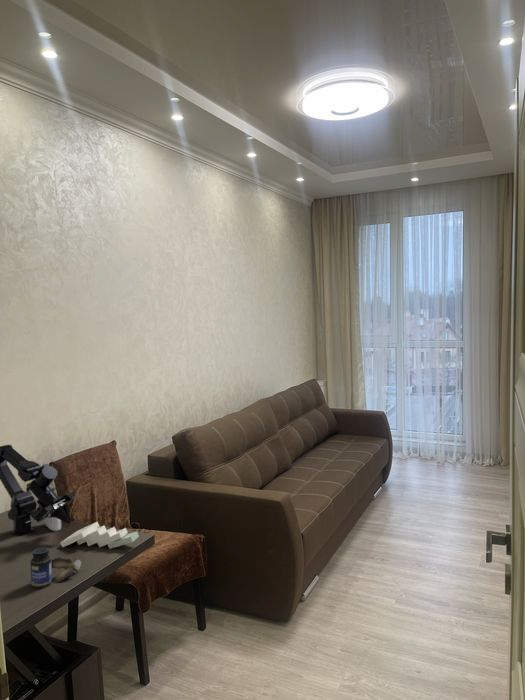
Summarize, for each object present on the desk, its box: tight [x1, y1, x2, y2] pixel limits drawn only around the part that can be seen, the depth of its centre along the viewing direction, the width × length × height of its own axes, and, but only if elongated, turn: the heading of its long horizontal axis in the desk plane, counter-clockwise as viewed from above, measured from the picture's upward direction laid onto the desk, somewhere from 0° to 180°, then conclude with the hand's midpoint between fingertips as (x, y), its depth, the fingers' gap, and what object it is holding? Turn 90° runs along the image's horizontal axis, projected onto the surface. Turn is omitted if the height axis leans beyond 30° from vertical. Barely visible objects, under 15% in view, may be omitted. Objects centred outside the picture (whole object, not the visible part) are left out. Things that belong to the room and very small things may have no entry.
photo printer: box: [44, 514, 62, 532], centre depth 215 cm, size 10×4×12 cm, turn 39°
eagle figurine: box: [51, 555, 82, 584], centre depth 174 cm, size 8×7×9 cm
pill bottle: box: [30, 547, 53, 589], centre depth 169 cm, size 6×6×11 cm
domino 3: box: [85, 526, 118, 547], centre depth 199 cm, size 2×5×10 cm
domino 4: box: [96, 527, 129, 548], centre depth 197 cm, size 2×5×10 cm
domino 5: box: [107, 531, 140, 550], centre depth 196 cm, size 2×5×10 cm
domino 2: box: [76, 525, 107, 546], centre depth 199 cm, size 2×5×10 cm
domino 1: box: [59, 521, 100, 548], centre depth 200 cm, size 2×11×10 cm
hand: (70, 523), depth 201 cm, fingers closed
